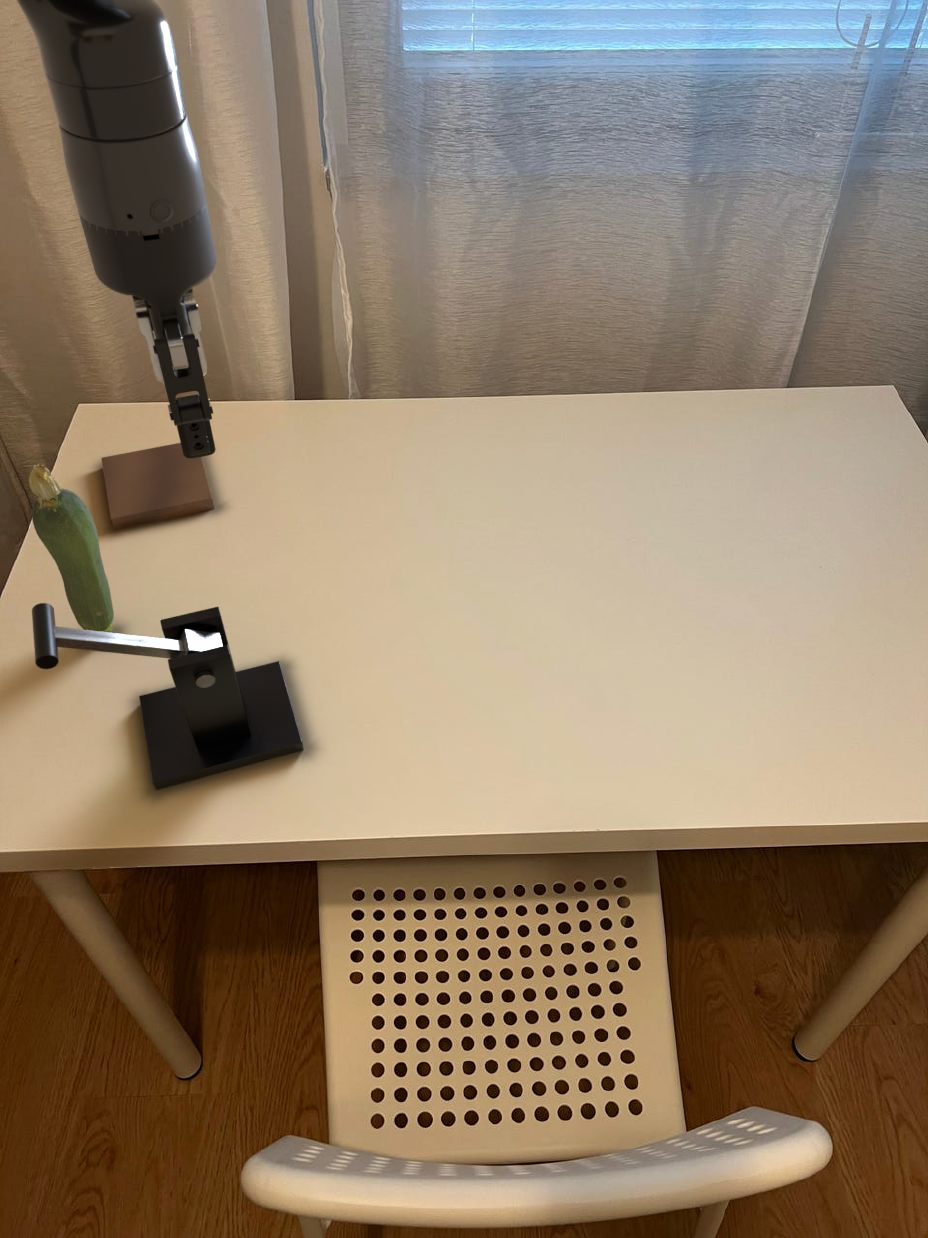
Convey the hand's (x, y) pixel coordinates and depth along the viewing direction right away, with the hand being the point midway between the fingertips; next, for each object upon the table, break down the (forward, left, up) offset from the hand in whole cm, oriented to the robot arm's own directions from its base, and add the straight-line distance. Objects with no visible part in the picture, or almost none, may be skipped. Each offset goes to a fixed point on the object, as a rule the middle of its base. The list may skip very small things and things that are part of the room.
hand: (191, 418), depth 69 cm
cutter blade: (-9, -11, -12) cm, 18 cm away
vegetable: (-12, +3, -24) cm, 26 cm away
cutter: (-4, -11, -23) cm, 26 cm away
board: (-5, +21, -23) cm, 32 cm away
